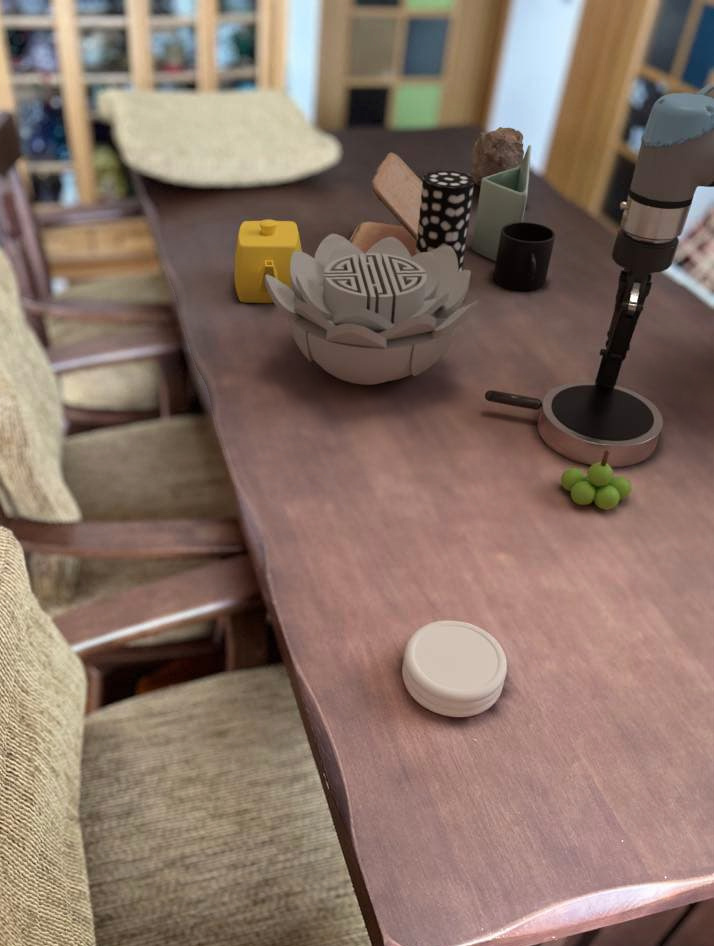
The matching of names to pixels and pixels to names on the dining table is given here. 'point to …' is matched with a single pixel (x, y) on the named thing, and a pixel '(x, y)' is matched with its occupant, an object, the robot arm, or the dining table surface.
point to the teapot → (263, 257)
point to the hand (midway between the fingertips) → (602, 392)
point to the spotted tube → (445, 212)
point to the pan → (593, 421)
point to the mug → (523, 255)
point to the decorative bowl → (373, 307)
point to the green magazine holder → (500, 206)
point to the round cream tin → (454, 668)
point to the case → (393, 206)
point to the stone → (496, 153)
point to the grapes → (596, 485)
